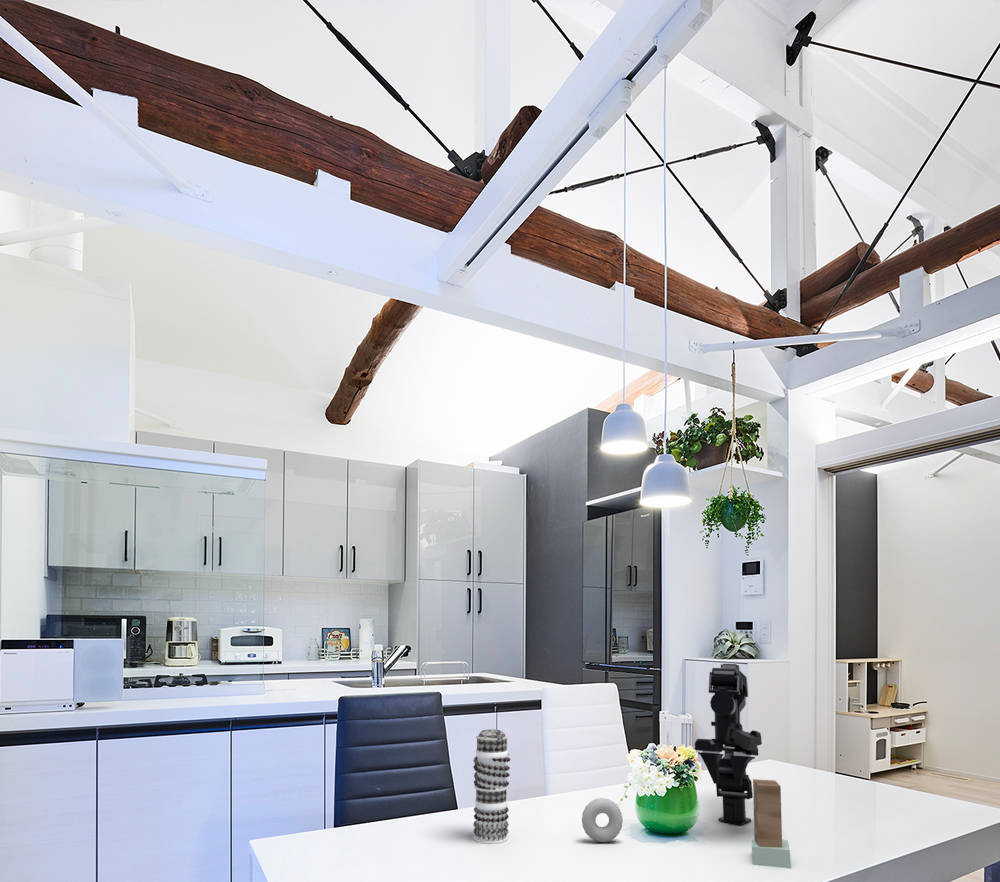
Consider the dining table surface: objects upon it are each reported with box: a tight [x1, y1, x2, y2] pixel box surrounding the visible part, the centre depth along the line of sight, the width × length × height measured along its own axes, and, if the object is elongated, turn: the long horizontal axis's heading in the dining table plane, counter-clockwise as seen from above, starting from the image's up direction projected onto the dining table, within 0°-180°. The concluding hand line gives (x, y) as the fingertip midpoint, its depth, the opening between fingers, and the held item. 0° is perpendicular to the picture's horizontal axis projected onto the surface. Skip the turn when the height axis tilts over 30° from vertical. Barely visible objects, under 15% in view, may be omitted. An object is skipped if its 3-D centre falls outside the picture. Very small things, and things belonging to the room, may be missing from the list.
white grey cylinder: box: [472, 728, 511, 845], centre depth 195 cm, size 9×9×25 cm
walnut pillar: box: [752, 778, 783, 848], centre depth 180 cm, size 5×5×13 cm
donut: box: [581, 797, 624, 843], centre depth 192 cm, size 10×3×10 cm, turn 92°
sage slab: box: [750, 836, 792, 869], centre depth 179 cm, size 8×8×4 cm
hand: (727, 784), depth 197 cm, fingers open, 9 cm apart
